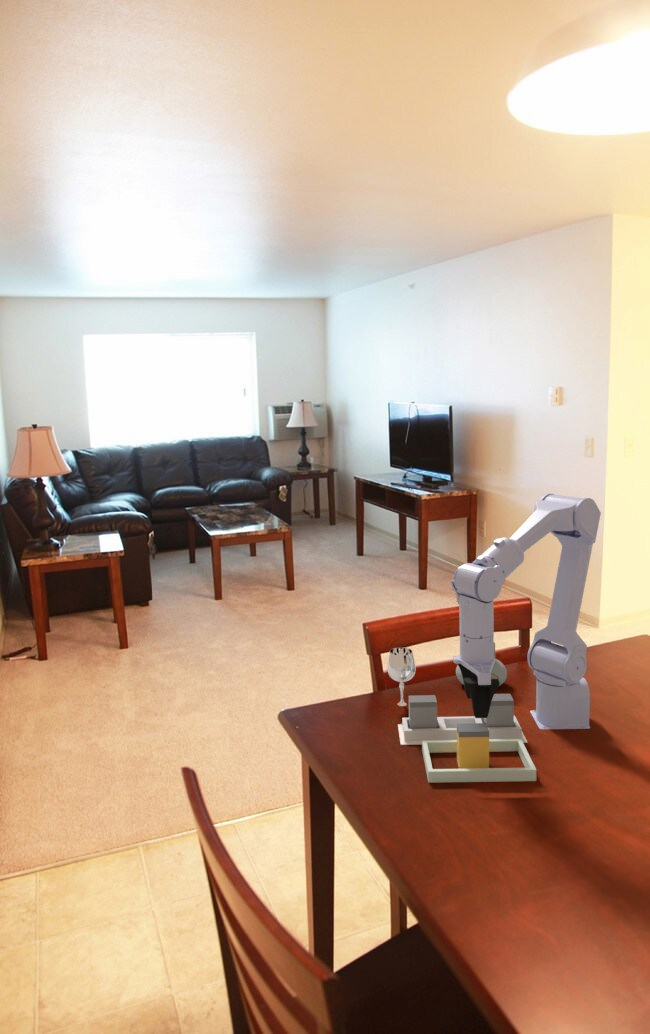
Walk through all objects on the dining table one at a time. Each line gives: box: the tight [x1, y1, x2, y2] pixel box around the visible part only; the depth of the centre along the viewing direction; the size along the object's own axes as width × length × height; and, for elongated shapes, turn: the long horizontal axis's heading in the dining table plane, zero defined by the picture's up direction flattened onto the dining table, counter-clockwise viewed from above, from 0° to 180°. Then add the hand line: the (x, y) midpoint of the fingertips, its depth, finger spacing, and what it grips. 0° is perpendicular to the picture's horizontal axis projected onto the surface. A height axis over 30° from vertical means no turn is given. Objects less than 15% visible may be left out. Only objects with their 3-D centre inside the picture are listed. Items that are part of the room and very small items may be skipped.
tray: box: [421, 739, 537, 784], centre depth 122 cm, size 18×11×2 cm, turn 88°
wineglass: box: [386, 646, 417, 707], centre depth 146 cm, size 6×6×12 cm
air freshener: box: [455, 642, 508, 687], centre depth 155 cm, size 11×8×10 cm
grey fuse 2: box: [483, 693, 515, 727], centre depth 133 cm, size 5×3×7 cm, turn 88°
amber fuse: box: [456, 723, 490, 769], centre depth 122 cm, size 5×3×7 cm, turn 88°
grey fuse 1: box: [408, 694, 438, 729], centre depth 133 cm, size 5×3×7 cm, turn 88°
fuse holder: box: [397, 715, 529, 746], centre depth 133 cm, size 23×8×3 cm, turn 88°
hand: (476, 707), depth 125 cm, fingers open, 7 cm apart
